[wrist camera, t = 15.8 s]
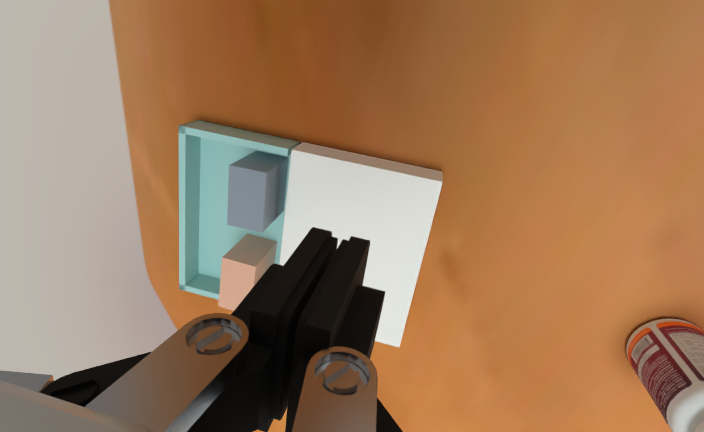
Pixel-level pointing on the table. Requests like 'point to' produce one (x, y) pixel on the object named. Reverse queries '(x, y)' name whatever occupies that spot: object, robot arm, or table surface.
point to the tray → (216, 199)
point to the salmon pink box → (244, 268)
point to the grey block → (256, 190)
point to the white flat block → (365, 218)
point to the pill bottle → (671, 370)
